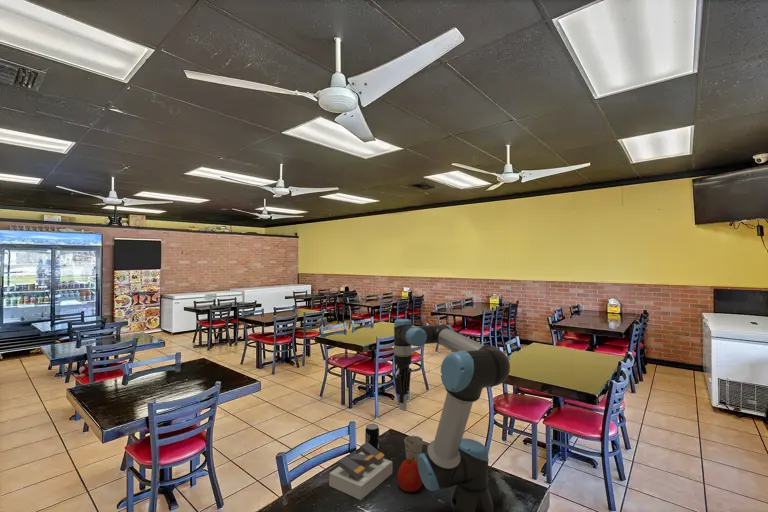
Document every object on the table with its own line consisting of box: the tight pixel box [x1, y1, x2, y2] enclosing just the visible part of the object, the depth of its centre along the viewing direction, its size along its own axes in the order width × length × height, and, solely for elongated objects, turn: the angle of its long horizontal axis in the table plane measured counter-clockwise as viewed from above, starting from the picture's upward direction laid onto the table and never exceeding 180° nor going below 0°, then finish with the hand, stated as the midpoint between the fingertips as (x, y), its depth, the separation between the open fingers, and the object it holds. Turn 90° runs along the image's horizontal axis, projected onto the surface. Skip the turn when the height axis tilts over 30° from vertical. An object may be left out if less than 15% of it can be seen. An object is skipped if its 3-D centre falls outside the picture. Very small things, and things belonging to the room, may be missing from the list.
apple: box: [397, 459, 423, 493], centre depth 145 cm, size 10×10×10 cm
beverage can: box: [364, 423, 380, 452], centre depth 173 cm, size 7×7×12 cm
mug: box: [403, 435, 430, 461], centre depth 165 cm, size 8×13×10 cm, turn 115°
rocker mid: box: [349, 453, 375, 466], centre depth 150 cm, size 10×5×2 cm, turn 56°
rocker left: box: [337, 455, 365, 479], centre depth 144 cm, size 10×5×2 cm, turn 56°
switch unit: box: [328, 451, 393, 501], centre depth 150 cm, size 16×22×7 cm
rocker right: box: [359, 442, 385, 464], centre depth 156 cm, size 10×5×2 cm, turn 55°
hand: (402, 409), depth 158 cm, fingers closed
